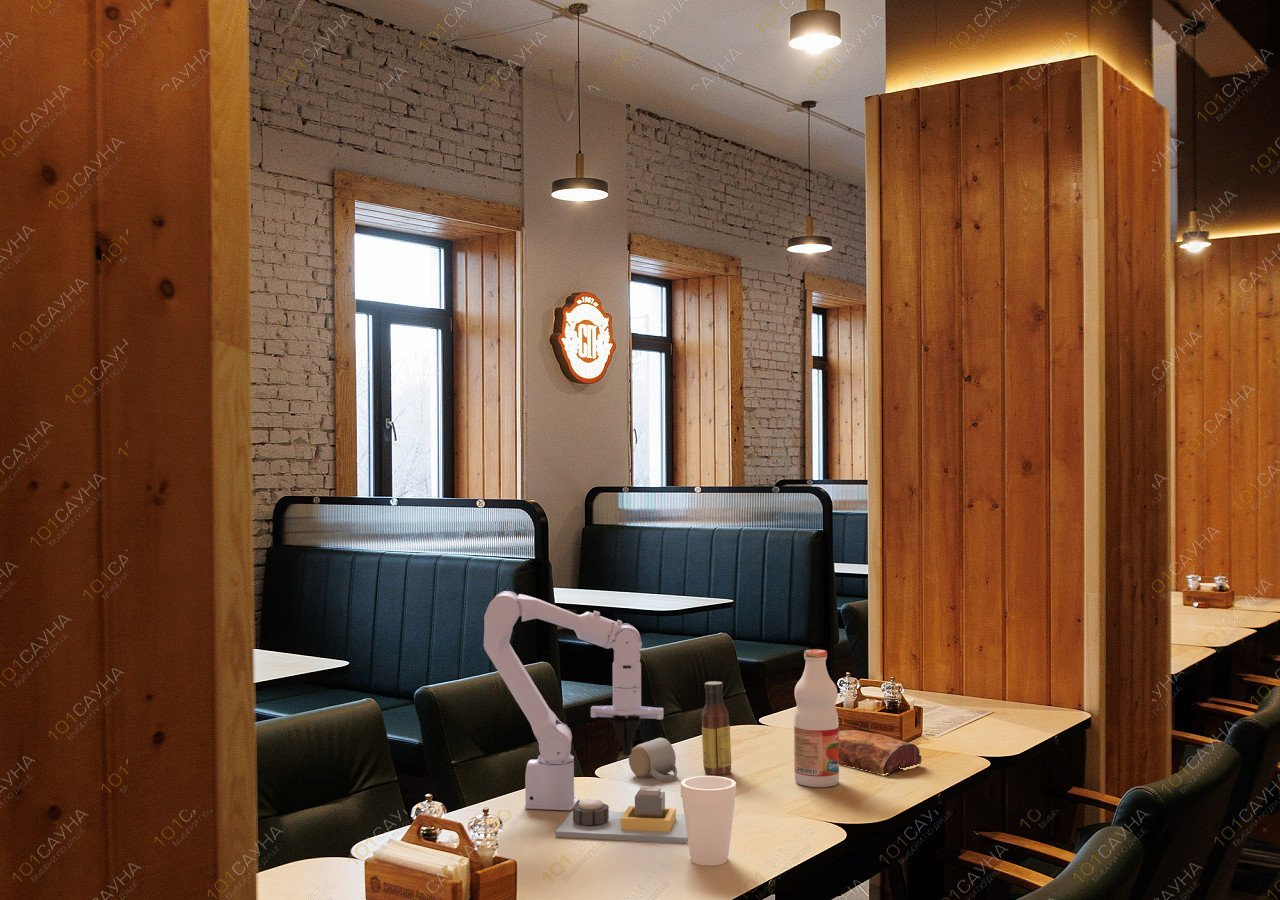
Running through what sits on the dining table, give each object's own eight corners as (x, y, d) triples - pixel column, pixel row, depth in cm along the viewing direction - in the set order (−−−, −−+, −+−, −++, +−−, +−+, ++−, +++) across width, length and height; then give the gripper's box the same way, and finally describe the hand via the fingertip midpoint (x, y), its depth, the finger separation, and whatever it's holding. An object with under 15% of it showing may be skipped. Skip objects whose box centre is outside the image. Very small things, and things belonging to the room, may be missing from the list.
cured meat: (849, 744, 281) (848, 716, 281) (933, 764, 262) (933, 734, 262) (798, 758, 270) (797, 729, 270) (882, 779, 250) (882, 748, 250)
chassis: (555, 836, 209) (555, 818, 210) (573, 814, 223) (573, 797, 223) (686, 843, 205) (686, 824, 205) (696, 820, 219) (696, 802, 219)
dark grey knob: (570, 824, 213) (570, 806, 213) (578, 814, 219) (577, 797, 219) (604, 825, 212) (604, 808, 212) (610, 815, 218) (610, 798, 218)
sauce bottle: (731, 769, 257) (731, 680, 258) (731, 776, 251) (730, 685, 252) (702, 768, 258) (701, 679, 258) (701, 776, 252) (700, 684, 252)
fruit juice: (793, 776, 251) (792, 647, 252) (837, 777, 250) (836, 647, 251) (795, 788, 242) (794, 654, 242) (840, 788, 241) (839, 654, 241)
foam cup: (703, 847, 203) (703, 773, 204) (747, 857, 197) (746, 781, 198) (670, 861, 196) (670, 784, 196) (714, 872, 190) (714, 793, 190)
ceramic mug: (626, 775, 253) (626, 740, 253) (653, 769, 258) (653, 734, 258) (659, 785, 245) (659, 749, 245) (686, 778, 250) (686, 743, 250)
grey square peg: (635, 826, 212) (634, 791, 212) (638, 820, 216) (638, 785, 216) (661, 827, 211) (661, 792, 211) (665, 821, 215) (664, 786, 215)
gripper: (587, 688, 228) (587, 757, 228) (659, 690, 226) (659, 760, 226) (594, 682, 235) (595, 749, 235) (664, 684, 233) (665, 751, 233)
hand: (627, 754), depth 231 cm, fingers closed
